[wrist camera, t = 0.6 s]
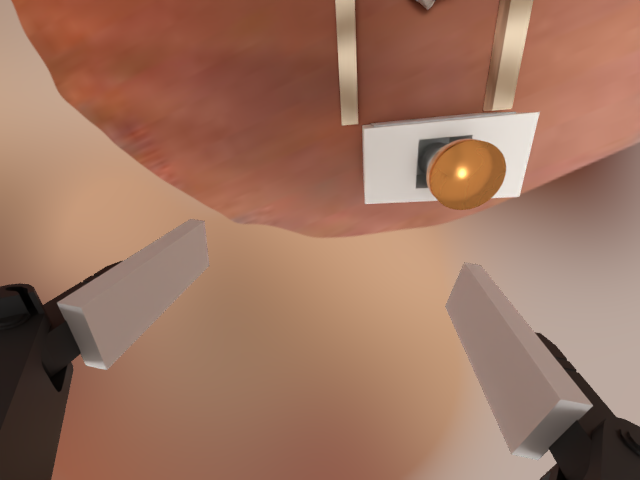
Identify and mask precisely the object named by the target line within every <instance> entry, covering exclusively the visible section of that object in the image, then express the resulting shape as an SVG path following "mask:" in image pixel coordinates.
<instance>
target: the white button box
mask: <svg viewBox="0 0 640 480" xmlns="http://www.w3.org/2000/svg"><path fill="white" fill-rule="evenodd" d="M539 113H540V112H527V113H516V112H495V113H471V114H461V115H451V116H441V117H431V118H421V119H410V120H400V121H390V122H380V123H370V124H369V125H362V143H363V182H364V196H365V204H378V203H399V202H419V201H438V200H437V199H436V198H435V197H434V196H433V194H432V193H431V192H430V190H429V188H428V185H427V181H426V174H425V173H424V172H422V171H421V169H420V167H419V164H418V160H419V155H420V153H421V152H422V150H423V149H424V148H425V147H426V146H428V145H429V144H431V143H435V142H442V143H445V144H449V143H451V142H453V141H456V140H460V139H475V140H481V141H485V142H488V143H491V144H493V145H494V146H496V147H497V148H498V149H499V150H500V151H501V152H502V154H503V156H504V158H505V162H506V175H505V178H504V181H503V184H502V185H501V187H500V189H499V190H498V191H497V193H496V194H495V195H494V196H493V197H492V198H503V197H519V196H520V192H521V188H522V184H523V179H524V175H525V171H526V167H527V163H528V159H529V154H530V150H531V146H532V142H533V138H534V134H535V129H536V125H537V121H538V117H539Z"/></svg>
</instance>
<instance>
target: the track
mask: <svg viewBox="0 0 640 480" xmlns="http://www.w3.org/2000/svg"><path fill="white" fill-rule="evenodd" d="M335 4H336V23H337V42H338V62H339V81H340V100H341V119H342V125H353V124H358V97H357V61H356V25H355V0H335ZM532 4H533V0H500V3H499V10H498V16H497V22H496V29H495V35H494V42H493V48H492V55H491V61H490V67H489V74H488V80H487V87H486V93H485V99H484V106H483V111H494V110H504V109H512V105H513V100H514V95H515V90H516V85H517V80H518V75H519V70H520V65H521V60H522V55H523V50H524V45H525V40H526V35H527V30H528V25H529V19H530V14H531V9H532Z"/></svg>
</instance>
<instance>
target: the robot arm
mask: <svg viewBox="0 0 640 480" xmlns="http://www.w3.org/2000/svg"><path fill="white" fill-rule="evenodd" d="M208 266H209V259H208V249H207V240H206V231H205V221H201V220H195V219H190V220H188V221H186V222H185V223H183V224H182V225H180V226H178V227H177V228H175V229H173V230H172V231H170V232H169V233H167V234H165V235H164V236H162V237H161V238H159V239H157V240H156V241H154V242H153V243H151V244H150V245H148V246H146V247H145V248H143V249H142V250H140V251H138V252H137V253H135V254H134V255H132V256H130V257H129V258H127V259H126V260H124V261H120V262H117V263H115V264H112V265H109V266H107V267H105V268H104V269H102V270H100V271H98V272H97V273H95V274H94V276H90V277H88V278H87V279H85V280H84V281H83V282H80V283H79V284H77V285H75V286H74V287H72V288H70V289H69V290H67V291H66V292H64V293H62V294H61V295H59V296H57V297H56V298H54V299H52V300H51V301H49V302H47V303H46V304H44V305H42V303H41V301H40V299H39V297H38V295H37V293H36V291H35V289H34V287H32V286H31V285H29V284H11V285H5V286H1V287H0V480H51V477H52V472H53V467H54V462H55V458H56V453H57V447H58V443H59V438H60V433H61V428H62V423H63V418H64V413H65V408H66V403H67V399H68V394H69V388H70V384H71V378H72V374H73V365H72V363H71V361H72V360H74V359H75V358H76V357H77V356H78V355H79V354H81V356H82V358H83V360H84V362H85V364H86V366H91V367H95V368H100V369H105V370H107V369H108V368H109V367H110V366H111V365H112V364H113V363H114V362H115V361H116V360H117V359H118V358H119V357H120V356H121V355H122V354H123V353H124V352H125V351H126V350H127V349H128V348H129V347H130V346H131V345H132V344H133V343H134V342H135V341H136V340H137V339H138V338H139V337H140V336H141V335H142V334H143V333H144V332H145V331H146V330H147V329H148V328H149V326H150V325H152V323H153V322H154V321H155V320H156V319H157V318H158V317H159V316H160V315H161V314H162V313H163V312H164V311H165V310H166V309H167V308H168V307H169V306H170V305H171V304H172V303H173V302H174V301H175V300H176V299H177V298H178V297H179V296H180V295H181V294H182V293H183V292H184V291H185V290H186V289H187V288H188V287H189V286H190V285H191V284H192V283H193V282H194V280H196V279H197V278H198V277H199V276H200V275H201V273H202V272H203V271H204V270H205V269H206V268H207V267H208ZM445 307H446V309H447V311H448V314H449V316H450V318H451V320H452V323H453V325H454V327H455V329H456V331H457V333H458V336H459V338H460V340H461V343H462V345H463V347H464V349H465V352H466V354H467V356H468V358H469V361H470V363H471V365H472V367H473V369H474V372H475V374H476V376H477V378H478V380H479V383H480V385H481V387H482V390H483V392H484V394H485V396H486V398H487V401H488V403H489V405H490V407H491V410H492V412H493V414H494V416H495V419H496V421H497V423H498V425H499V428H500V430H501V432H502V434H503V436H504V439H505V441H506V443H507V445H508V448H509V450H510V452H511V454H512V455H516V456H521V457H526V458H531V459H536V460H539V459H540V458H541V457H542V456H543V455H544V454H545V453H546V452H547V451H548V450H550V452H551V453H552V455H553V457H554V459H555V460H556V462H557V464H556V465H555V466H553V467H552V468H551V469H550V470H549V471H548V472H547V473H546V474H545V475H544V476H542V477H541V479H540V480H640V427H639V426H637V425H635V424H633V423H631V422H629V421H627V420H625V419H621V418H617V417H616V416H615V415H614V414H613V413H612V412H611V410H610V409H609V408H608V407H607V405H606V404H605V403H604V402H603V401H602V400H601V399H600V397H599V396H598V395H597V394H596V393H595V391H594V390H593V389H592V388H591V387H590V385H589V384H588V383H587V382H586V381H585V380H584V378H583V377H582V376H581V375H580V374H579V373H577V372H576V369H575V368H574V367H573V365H572V364H571V363H570V362H569V361H567V359H566V357H565V356H564V355H563V354H562V352H561V351H560V350H559V349H558V348H557V346H556V345H554V344H553V343H552V342H551V341H549V340H548V339H547V338H546V337H544V336H543V335H542V334H540V333H535V332H534V331H533V330H532V329H531V327H530V326H529V325H528V324H527V322H526V321H525V320H524V319H523V317H522V316H521V315H520V314H519V313H518V311H517V310H516V309H515V308H514V306H513V305H512V304H511V302H510V301H509V300H508V299H507V297H506V296H505V295H504V294H503V292H502V291H501V290H500V289H499V287H498V286H497V285H496V284H495V282H494V281H493V280H492V279H491V278H490V276H489V275H488V274H487V272H486V271H485V270H484V269H483V268H482V266H481V265H477V264H471V263H464V264H463V266H462V269H461V271H460V273H459V276H458V278H457V280H456V283H455V285H454V287H453V289H452V292H451V294H450V296H449V299H448V301H447V303H446V306H445Z"/></svg>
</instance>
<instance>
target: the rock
mask: <svg viewBox="0 0 640 480" xmlns="http://www.w3.org/2000/svg"><path fill="white" fill-rule="evenodd" d="M416 1H417V2H419V3H420V4H422V5H423V6H424V7H425V8H426V9H427V10H428V9H429V8H431V7H432V6H433V4H434V2H435V0H416Z"/></svg>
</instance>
